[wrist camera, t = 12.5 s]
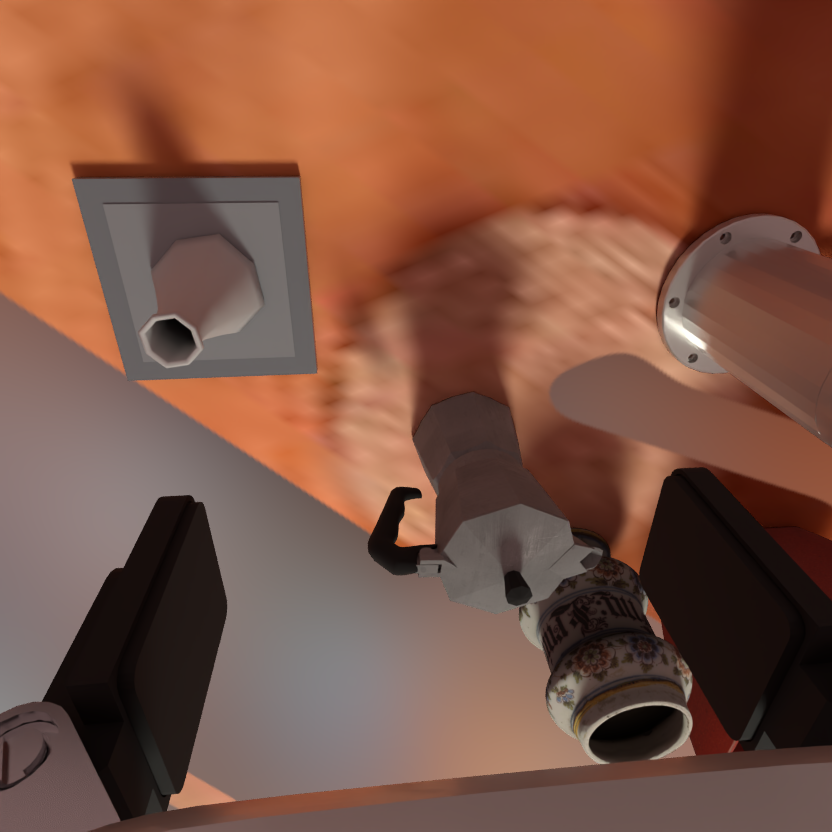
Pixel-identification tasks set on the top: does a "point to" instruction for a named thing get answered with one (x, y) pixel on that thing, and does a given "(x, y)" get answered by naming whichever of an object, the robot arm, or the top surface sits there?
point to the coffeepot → (482, 514)
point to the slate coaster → (194, 217)
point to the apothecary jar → (610, 664)
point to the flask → (199, 298)
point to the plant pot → (828, 570)
